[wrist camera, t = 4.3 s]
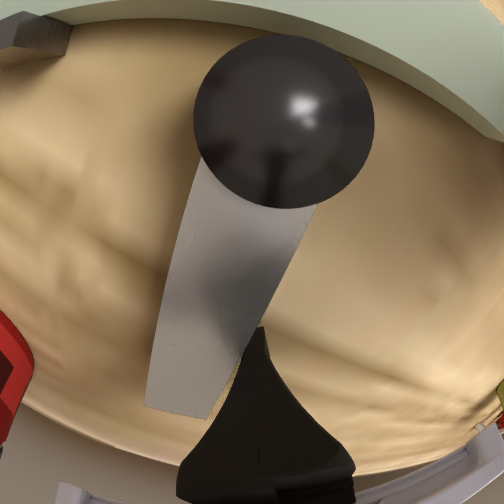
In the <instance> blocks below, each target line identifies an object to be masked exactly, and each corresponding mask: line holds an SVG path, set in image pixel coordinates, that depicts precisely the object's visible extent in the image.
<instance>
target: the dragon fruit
mask: <svg viewBox="0 0 504 504" xmlns="http://www.w3.org/2000/svg"><path fill="white" fill-rule="evenodd" d="M502 413H503V415H502V417H501V418H499V420H498V421H497V424H498V426H497V428H498V430H500V429H502V428H504V411H502V412H501V413H500V415H501V414H502ZM500 415H499V416H498V417H500Z"/></svg>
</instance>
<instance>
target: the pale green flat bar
mask: <svg viewBox="0 0 504 504" xmlns="http://www.w3.org/2000/svg"><path fill="white" fill-rule="evenodd" d="M21 11H26V12H29V13H33V14H36V15H39V16H42V17H45V18H48V19H51V20H54V21H57V22H59V23H62V24H65V25H67V26H72V25H78V24H84V23H91V22H98V21H107V20H119V19H136V18H174V19H192V20H203V21H213V22H221V23H228V24H234V25H240V26H246V27H251V28H256V29H261V30H266V31H270V32H274V33H279V34H283V35H294V36H300V37H304V38H308V39H312V40H314V41H317V42H319V43H322V44H324V45H326V46H327V47H329V48H331V49H333V50H334V51H337V52H339V53H342V54H345V55H347V56H350V57H352V58H354V59H357V60H359V61H362V62H364V63H366V64H368V65H371V66H373V67H375V68H377V69H379V70H381V71H383V72H385V73H387V74H389V75H391V76H393V77H395V78H397V79H399V80H401V81H403V82H405V83H407V84H408V85H410V86H412V87H414V88H415V89H417V90H419V91H421V92H422V93H424V94H426V95H427V96H429V97H430V98H432V99H434V100H435V101H437V102H438V103H440V104H441V105H443V106H444V107H446V108H447V109H449V110H450V111H452V112H453V113H455V114H456V115H457V116H459V117H460V118H462V119H463V120H464V121H466V122H467V123H468V124H470V125H471V126H472V127H473V128H475V129H476V130H477V131H479V132H480V133H481V134H482V135H483V136H485V137H487V138H491V139H494V140H497V141H500V142H504V26H503V25H502V24H501V23H500V22H499V21H498V20H497V19H496V18H495V17H494V16H493V15H492V14H491V13H490V12H489V11H488V10H487V9H486V8H485V7H484V6H483V5H482V4H481V3H480V2H479V1H478V0H0V20H2V19H4V18H6V17H8V16H11V15H13V14H16V13H18V12H21Z"/></svg>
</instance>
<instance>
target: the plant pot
mask: <svg viewBox="0 0 504 504" xmlns="http://www.w3.org/2000/svg"><path fill="white" fill-rule="evenodd" d="M496 392H497V395H498V397H499V400H500V402H501V405H502V408H503V410H504V380H503V381H502V382H501V383H500V385H499V387H498V389H497V390H496Z"/></svg>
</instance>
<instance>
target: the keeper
mask: <svg viewBox="0 0 504 504" xmlns="http://www.w3.org/2000/svg"><path fill="white" fill-rule="evenodd" d="M72 28H73V27H70V26H67V25H65V24H62V23H59V22H57V21H54V20H51V19H48V18H45V17H42V16H39V15H36V14H33V13H29V12H26V11H21V12H18V13H16V14H13V15H11V16H8V17H6V18H4V19H2V20H0V69H3V68H7V67H10V66H14V65H18V64H22V63H26V62H31V61H35V60H40V59H45V58H51V57H57V56H63V55H65V53H66V49H67V45H68V41H69V38H70V34H71V31H72Z"/></svg>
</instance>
